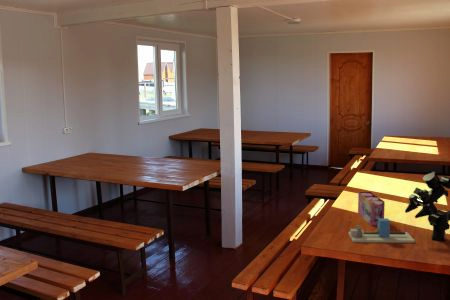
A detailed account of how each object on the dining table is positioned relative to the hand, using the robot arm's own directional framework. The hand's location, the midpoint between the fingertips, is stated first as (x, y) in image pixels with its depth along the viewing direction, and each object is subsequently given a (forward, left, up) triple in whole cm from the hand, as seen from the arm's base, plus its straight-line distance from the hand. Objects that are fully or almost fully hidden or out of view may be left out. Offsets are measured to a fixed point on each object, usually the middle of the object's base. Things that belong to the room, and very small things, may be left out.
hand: (410, 214), depth 234 cm
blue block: (0, -12, -12) cm, 18 cm away
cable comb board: (+1, -13, -14) cm, 19 cm away
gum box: (-29, -22, -14) cm, 39 cm away
